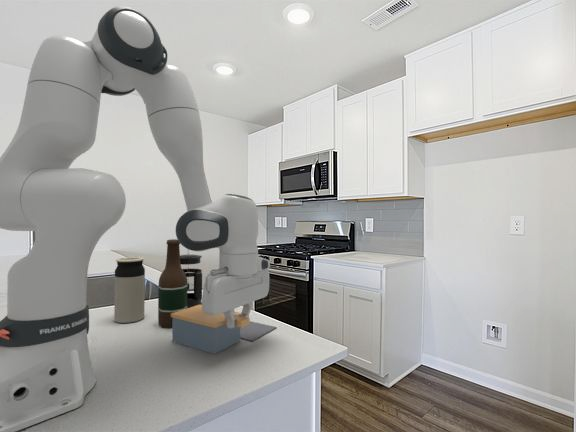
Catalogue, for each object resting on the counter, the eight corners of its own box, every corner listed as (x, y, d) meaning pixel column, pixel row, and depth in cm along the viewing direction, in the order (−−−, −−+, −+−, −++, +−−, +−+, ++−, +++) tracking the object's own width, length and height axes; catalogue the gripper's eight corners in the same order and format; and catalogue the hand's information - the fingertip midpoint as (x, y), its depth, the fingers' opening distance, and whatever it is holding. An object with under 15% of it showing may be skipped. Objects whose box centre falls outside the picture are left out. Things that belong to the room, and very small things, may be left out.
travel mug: (144, 321, 93) (145, 259, 93) (113, 325, 90) (114, 261, 90) (144, 313, 100) (144, 256, 100) (115, 317, 97) (115, 257, 97)
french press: (166, 306, 109) (166, 238, 109) (189, 300, 117) (190, 237, 116) (187, 312, 102) (188, 240, 102) (211, 305, 110) (211, 238, 110)
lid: (231, 334, 69) (231, 325, 69) (170, 318, 79) (170, 311, 79) (257, 321, 77) (257, 314, 77) (199, 308, 87) (199, 302, 87)
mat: (252, 341, 79) (252, 340, 79) (210, 331, 86) (210, 329, 86) (276, 328, 88) (276, 327, 88) (236, 319, 95) (236, 318, 95)
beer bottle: (152, 325, 90) (152, 240, 90) (173, 317, 97) (174, 238, 96) (171, 330, 86) (172, 241, 86) (192, 322, 93) (193, 239, 93)
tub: (214, 354, 72) (215, 327, 72) (172, 341, 79) (172, 316, 79) (240, 340, 80) (240, 316, 80) (199, 330, 87) (199, 307, 87)
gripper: (217, 272, 64) (217, 342, 64) (273, 260, 81) (273, 315, 81) (195, 269, 67) (194, 336, 67) (253, 258, 84) (253, 311, 84)
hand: (238, 324), depth 74 cm, fingers closed on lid, 3 cm apart
